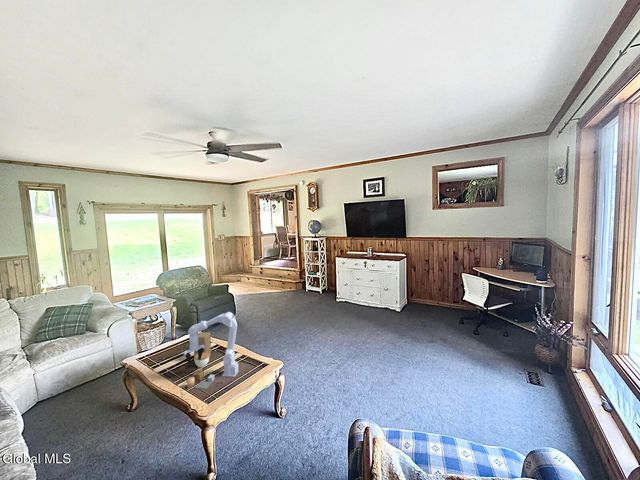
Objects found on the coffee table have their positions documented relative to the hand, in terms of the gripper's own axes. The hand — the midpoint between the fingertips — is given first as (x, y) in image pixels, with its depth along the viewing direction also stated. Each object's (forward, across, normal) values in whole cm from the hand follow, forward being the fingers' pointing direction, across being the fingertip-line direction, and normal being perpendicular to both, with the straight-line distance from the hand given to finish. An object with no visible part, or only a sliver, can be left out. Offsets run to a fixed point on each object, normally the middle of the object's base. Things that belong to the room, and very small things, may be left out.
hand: (194, 361), depth 201 cm
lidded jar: (+10, -10, -8) cm, 17 cm away
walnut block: (+10, +2, +9) cm, 14 cm away
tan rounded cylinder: (+10, +9, +12) cm, 18 cm away
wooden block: (+10, -17, -18) cm, 27 cm away
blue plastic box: (+10, -3, +16) cm, 19 cm away
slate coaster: (+10, +4, +18) cm, 21 cm away
